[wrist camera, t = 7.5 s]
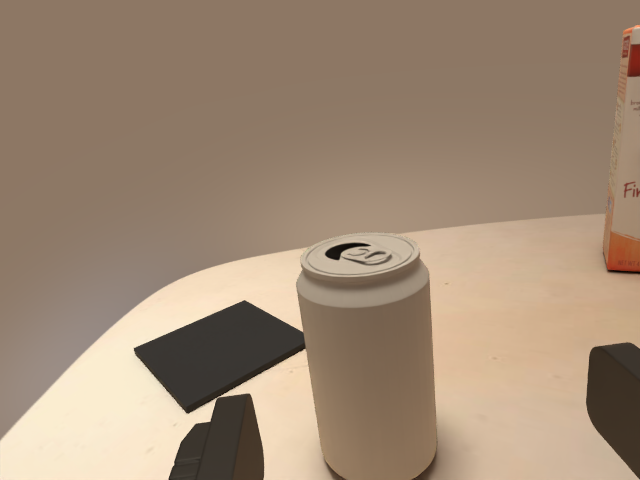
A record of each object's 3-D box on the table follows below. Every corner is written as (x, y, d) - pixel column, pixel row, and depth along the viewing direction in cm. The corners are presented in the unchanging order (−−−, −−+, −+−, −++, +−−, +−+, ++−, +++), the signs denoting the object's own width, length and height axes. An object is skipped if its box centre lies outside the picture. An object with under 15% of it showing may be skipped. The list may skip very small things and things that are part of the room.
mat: (187, 413, 30) (185, 407, 30) (134, 353, 38) (133, 348, 38) (314, 343, 36) (313, 337, 36) (245, 304, 45) (244, 300, 45)
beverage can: (375, 396, 29) (358, 221, 26) (462, 446, 25) (456, 240, 21) (299, 452, 26) (265, 257, 22) (384, 524, 21) (359, 291, 17)
